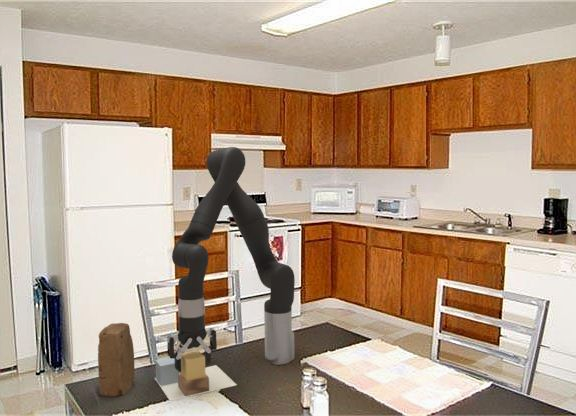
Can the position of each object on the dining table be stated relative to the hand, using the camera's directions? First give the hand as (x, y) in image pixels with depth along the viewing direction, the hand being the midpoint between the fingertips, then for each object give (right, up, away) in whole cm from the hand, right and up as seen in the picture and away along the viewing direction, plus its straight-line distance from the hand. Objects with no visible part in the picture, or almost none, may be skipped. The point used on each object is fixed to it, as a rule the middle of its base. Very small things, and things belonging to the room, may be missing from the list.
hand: (192, 367), depth 144 cm
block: (-22, -8, +1) cm, 24 cm away
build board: (0, -7, +6) cm, 9 cm away
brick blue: (-9, -6, +6) cm, 12 cm away
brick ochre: (0, -2, 0) cm, 2 cm away
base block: (0, -6, +1) cm, 6 cm away
